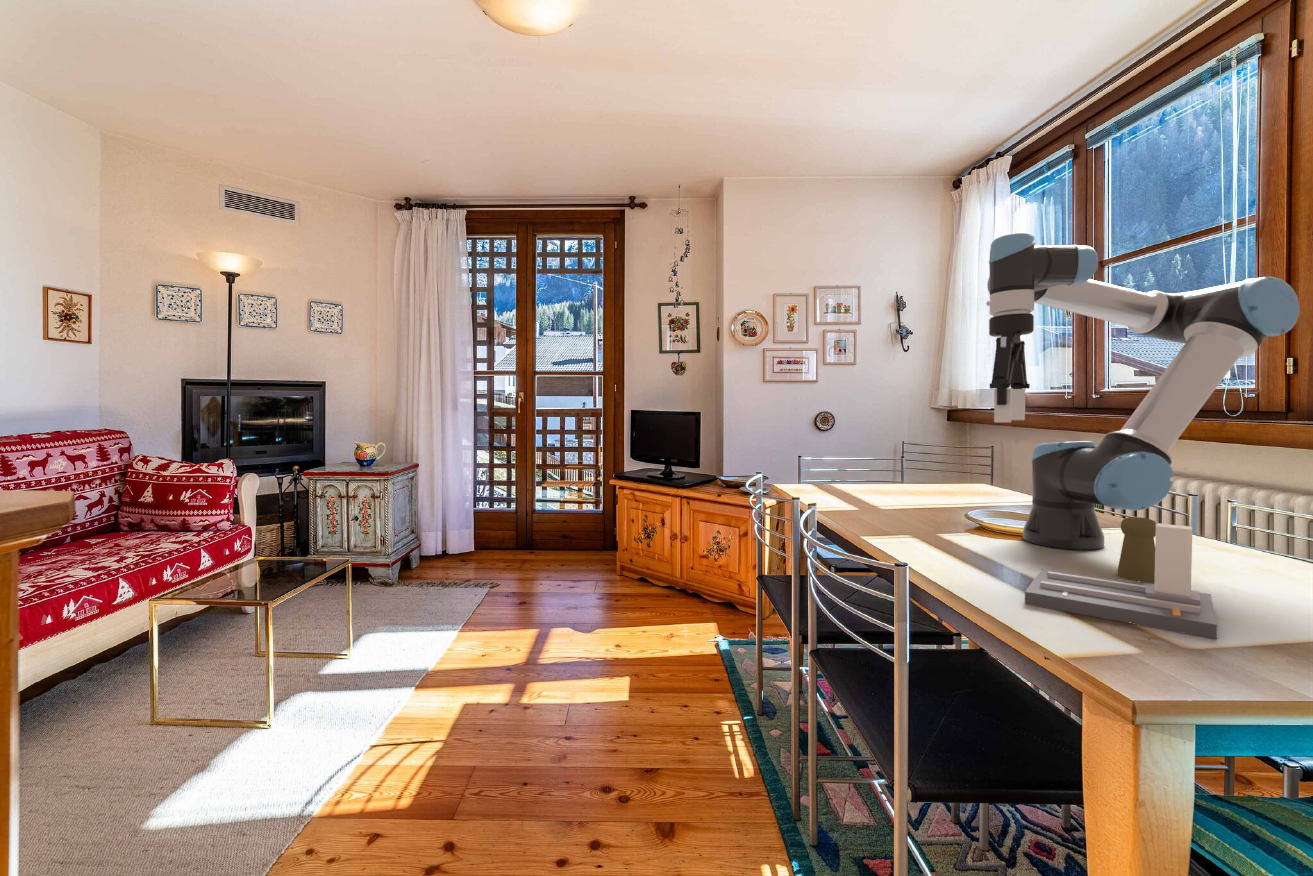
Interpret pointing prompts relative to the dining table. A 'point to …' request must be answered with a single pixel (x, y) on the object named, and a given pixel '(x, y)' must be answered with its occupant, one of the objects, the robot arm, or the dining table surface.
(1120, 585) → the board
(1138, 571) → the cork
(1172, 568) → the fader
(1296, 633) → the dining table surface
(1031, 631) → the dining table surface
